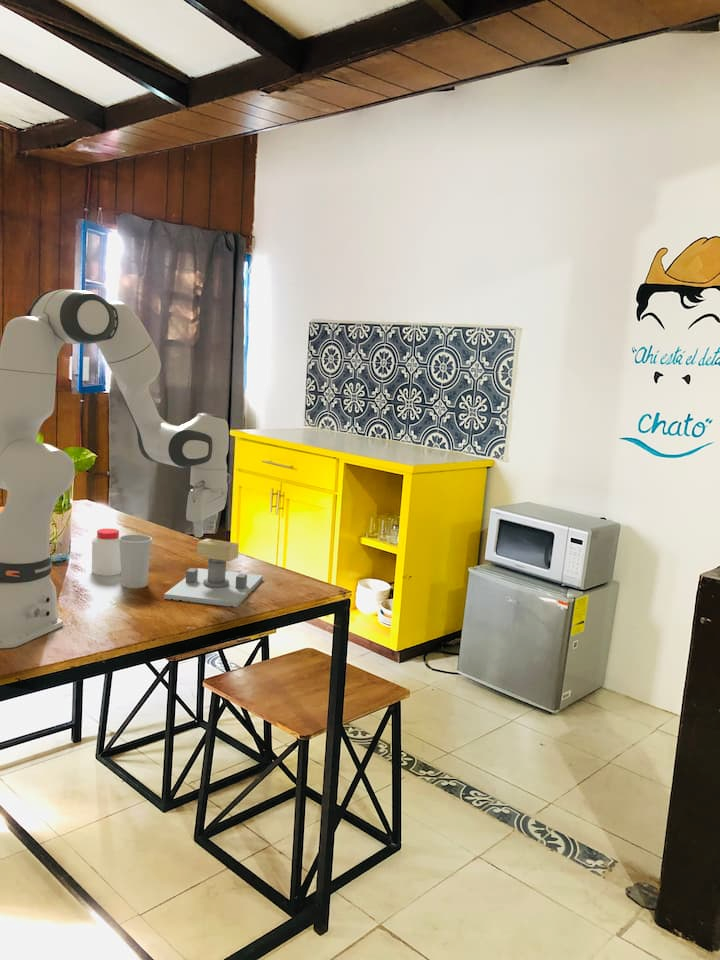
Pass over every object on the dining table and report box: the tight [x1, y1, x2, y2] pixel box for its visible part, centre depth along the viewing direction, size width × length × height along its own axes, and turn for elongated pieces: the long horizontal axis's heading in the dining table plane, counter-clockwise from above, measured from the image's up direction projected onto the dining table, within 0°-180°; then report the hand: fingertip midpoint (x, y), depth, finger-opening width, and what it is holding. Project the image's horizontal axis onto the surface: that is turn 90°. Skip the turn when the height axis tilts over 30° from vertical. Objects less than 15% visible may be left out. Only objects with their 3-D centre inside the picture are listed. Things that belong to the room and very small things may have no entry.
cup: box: [119, 533, 153, 589], centre depth 197 cm, size 8×8×12 cm
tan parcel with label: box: [196, 538, 239, 563], centre depth 198 cm, size 9×5×5 cm, turn 73°
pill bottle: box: [91, 528, 121, 577], centre depth 207 cm, size 8×8×11 cm
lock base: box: [163, 560, 264, 608], centre depth 199 cm, size 24×18×7 cm
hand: (204, 533), depth 198 cm, fingers open, 8 cm apart
